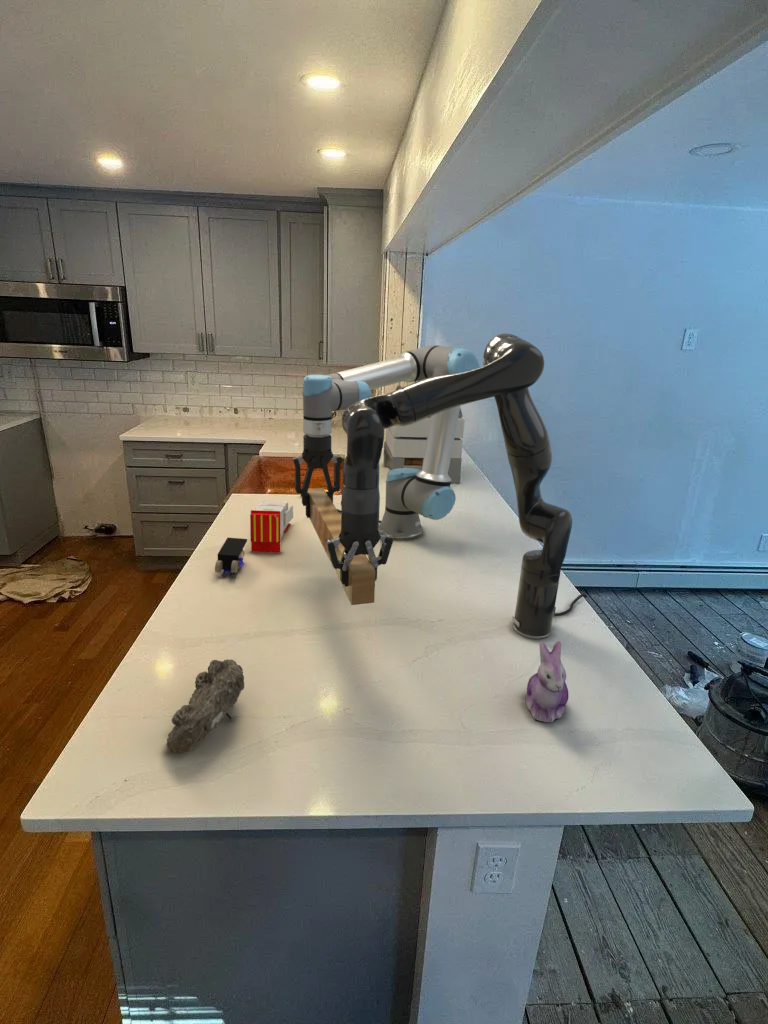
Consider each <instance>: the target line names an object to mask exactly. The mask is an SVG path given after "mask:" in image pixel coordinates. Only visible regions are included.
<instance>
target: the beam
mask: <svg viewBox="0 0 768 1024" xmlns="http://www.w3.org/2000/svg"><path fill="white" fill-rule="evenodd" d="M326 492H327V491H326V490H325V489H324V487H319V488H318V487H317V488H316V487H315V488H308V492H307V493H309V495H310V518H309V520H310V522H311V524H312V527H313V528H314V530H315V533H316V535H317V537H318V539H319V541H320V543H321V545H322V547H323V549H324V551H325V553H326V555H327V557H328V560H329V562H330V564H331V566H332V568H333V570H334V572H335V574H336V576H337V578H338V581H339V582H340V585H341V586H342V589H343V591H344V593H345V595H346V597H347V599H348V601H349V603H350V605H351V606H359V605H367V604H374V603H375V598H376V597H375V595H376V594H375V593H376V581H375V569H374V567H373V566H372V564H371V563H370V561H369V558H368V555H363V554H360V555H356V556H354V557H353V560H352V561H351V562H350V565H349V567H348V570H349V582H348V586H347V587H345V586H344V584H342V582H341V580H340V569H335V568H334V567H333V565H332V563H331V560H330V556H329V552H328V549H327V545H326V539H327V538H330V539H335V538H338V537H339V535H340V533H341V513H339V512H338V510H339V509H338V508H337V507H336V505H335V504H334V502H333V503H332V501H331V499H330V498H329V496H328V495H327V493H326ZM337 509H338V510H337ZM335 551H336V555H337V558H338V560H339V561H341V558H342V556H343V551H344V547H343V545H342V544H341V543H339V544H338V549H337V550H335Z"/></svg>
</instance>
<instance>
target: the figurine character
mask: <svg viewBox="0 0 768 1024" xmlns="http://www.w3.org/2000/svg"><path fill="white" fill-rule="evenodd" d="M247 542H248V538H240V537H226V539H225V541H224V543H223V544H222V546H221V547H220V549H219V551H218V552H217V560H216V562H215V564H214V572H215V573H221V577H222V578H224V577H225V576H226V574H227V573H230V574H231V573H232V574H231V578H234V577H235V575H236V573H237V572H239V571H240V567H242V566H243V565H244V564H245V562H244V558H245V551H244V547H245V546H246V544H247Z"/></svg>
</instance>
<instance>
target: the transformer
mask: <svg viewBox="0 0 768 1024" xmlns="http://www.w3.org/2000/svg"><path fill="white" fill-rule="evenodd" d="M402 387H403V386H402V385H399V384H398V385H397V386H396V388H395V390H397V389H400V388H402ZM430 418H431V416H430V417H428V418H426V419H423V420H421V421H418V422H416V423H413V424H410V425H407V426H392V427H389V428H386V429H385V437H384V442H383V466H384V467H388V468H389V471H391V470H393V469H399V468H405V466H406V467H407V466H411V467H412V466H413V467H415V466H416V467H417V466H418V467H422V465H423V459H424V453H425V447H426V442H427V436H428V430H429V424H430ZM464 429H465V419H464V418H463V411H462V408H461V407H460V411H459V416H458V421H457V427H456V432H455V438H454V443H453V448H452V454H451V459H450V465H449V470H448V475H449V477H450V478H451V484H455V483H456V484H459V483H461V472H462V461H463V460H462V453H463V442H464V441H463V440H462V439H463V438H464V431H465V430H464Z"/></svg>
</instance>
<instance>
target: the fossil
mask: <svg viewBox="0 0 768 1024" xmlns="http://www.w3.org/2000/svg"><path fill="white" fill-rule="evenodd" d="M243 670H244V669H243V667H242V665H240V664H237V662H236V661H235V660H234V659H232V658H231V659H227V658H226V659H224V660H223V661H222V660H217V659H212V660H211V661H210V663H209V665H208V666H207V671H201V672H199V673H198V674H197V675H196V676H195V680H194V684H195V685H194V687H195V689H194V690H193V693H192V694H191V697H190V698H189V700H188V704H184V705H182V706H181V707H180V709H177V710H176V711H175V713H174V715H173V716H172V718H171V723H172V724H173V727H172V730H171V731H170V732H168V734H167V738H166V741H167V742H166V745H167V749H168V750H169V751H173V752H174V753H176V754H178V753H182V752H188V751H189V752H192V751H193V750H195V748H196V747H197V746H199V744H200V743H201V742H203V741H204V740H205V739H206V738H207V737H208V736H209V735H210V734H211V733H212V732H214V730H215V729H217V727H218V726H219V724H220V722H221V721H222V720H223V719H224V718H225V716H226V717H227V719H229V720H233V717H232V715H230V714H229V710H230V709H231V708H234V706H235V704H236V703H237V702H238V699H239V697H240V695H241V693H242V691H243V690H245V689H244V688H245V675H244V671H243Z"/></svg>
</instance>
